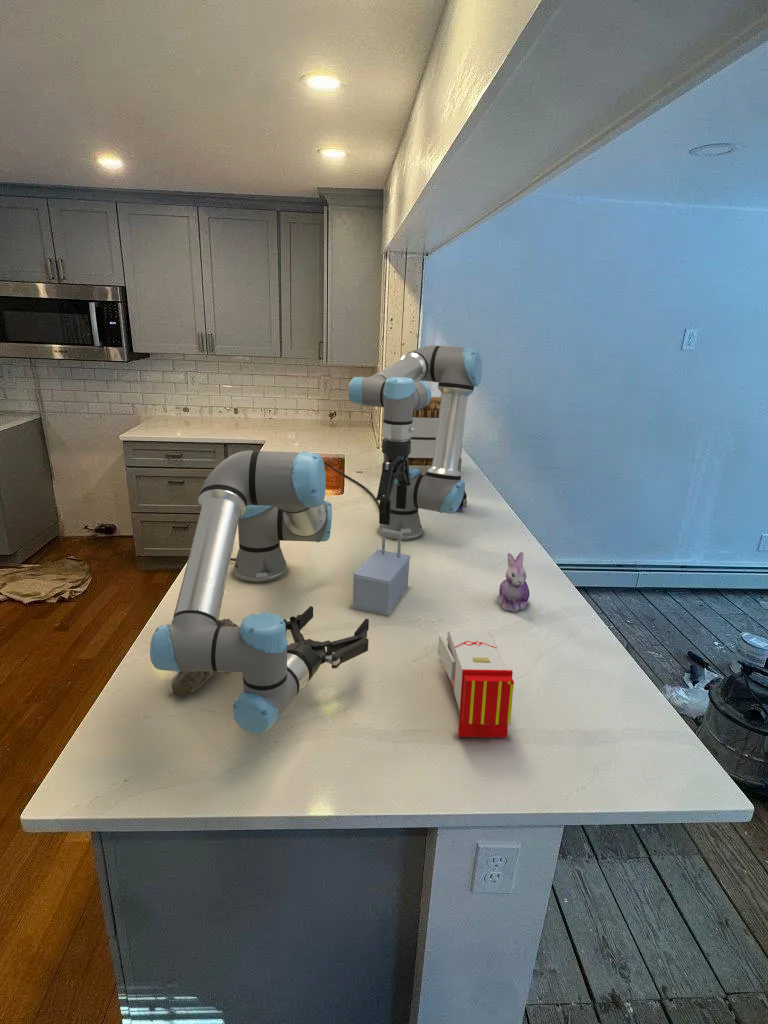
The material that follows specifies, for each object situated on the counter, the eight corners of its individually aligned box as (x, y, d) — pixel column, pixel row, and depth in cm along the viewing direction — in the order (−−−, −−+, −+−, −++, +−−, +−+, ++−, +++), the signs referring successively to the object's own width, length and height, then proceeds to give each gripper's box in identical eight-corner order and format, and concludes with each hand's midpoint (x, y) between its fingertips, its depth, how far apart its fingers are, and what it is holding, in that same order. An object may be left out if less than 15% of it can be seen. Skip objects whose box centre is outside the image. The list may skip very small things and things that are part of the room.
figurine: (511, 616, 149) (518, 564, 143) (487, 598, 157) (493, 549, 152) (539, 609, 153) (547, 558, 148) (514, 592, 161) (521, 544, 156)
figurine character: (467, 516, 223) (461, 500, 237) (469, 499, 220) (463, 483, 233) (450, 516, 223) (446, 499, 236) (452, 498, 220) (447, 483, 233)
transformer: (382, 463, 289) (386, 382, 275) (445, 464, 293) (451, 384, 279) (390, 482, 257) (394, 392, 243) (460, 483, 261) (468, 394, 247)
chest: (375, 581, 165) (376, 553, 162) (407, 587, 162) (409, 559, 159) (352, 607, 149) (353, 577, 147) (387, 615, 146) (389, 585, 143)
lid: (377, 552, 162) (378, 524, 159) (410, 558, 159) (412, 530, 156) (353, 577, 146) (354, 546, 144) (389, 585, 143) (390, 553, 141)
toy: (488, 613, 130) (523, 677, 101) (484, 667, 133) (517, 744, 104) (435, 612, 130) (455, 676, 101) (432, 666, 133) (451, 743, 103)
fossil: (193, 621, 132) (239, 591, 127) (222, 649, 135) (268, 620, 130) (150, 689, 112) (202, 656, 107) (184, 719, 115) (237, 689, 110)
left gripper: (237, 670, 113) (289, 620, 132) (352, 702, 106) (390, 644, 124) (236, 637, 111) (289, 592, 130) (353, 667, 103) (392, 614, 122)
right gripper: (394, 450, 134) (390, 533, 142) (424, 431, 157) (419, 504, 164) (365, 446, 137) (362, 528, 144) (398, 428, 159) (394, 500, 166)
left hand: (339, 617), depth 127 cm, fingers open, 13 cm apart
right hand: (392, 515), depth 154 cm, fingers open, 13 cm apart
